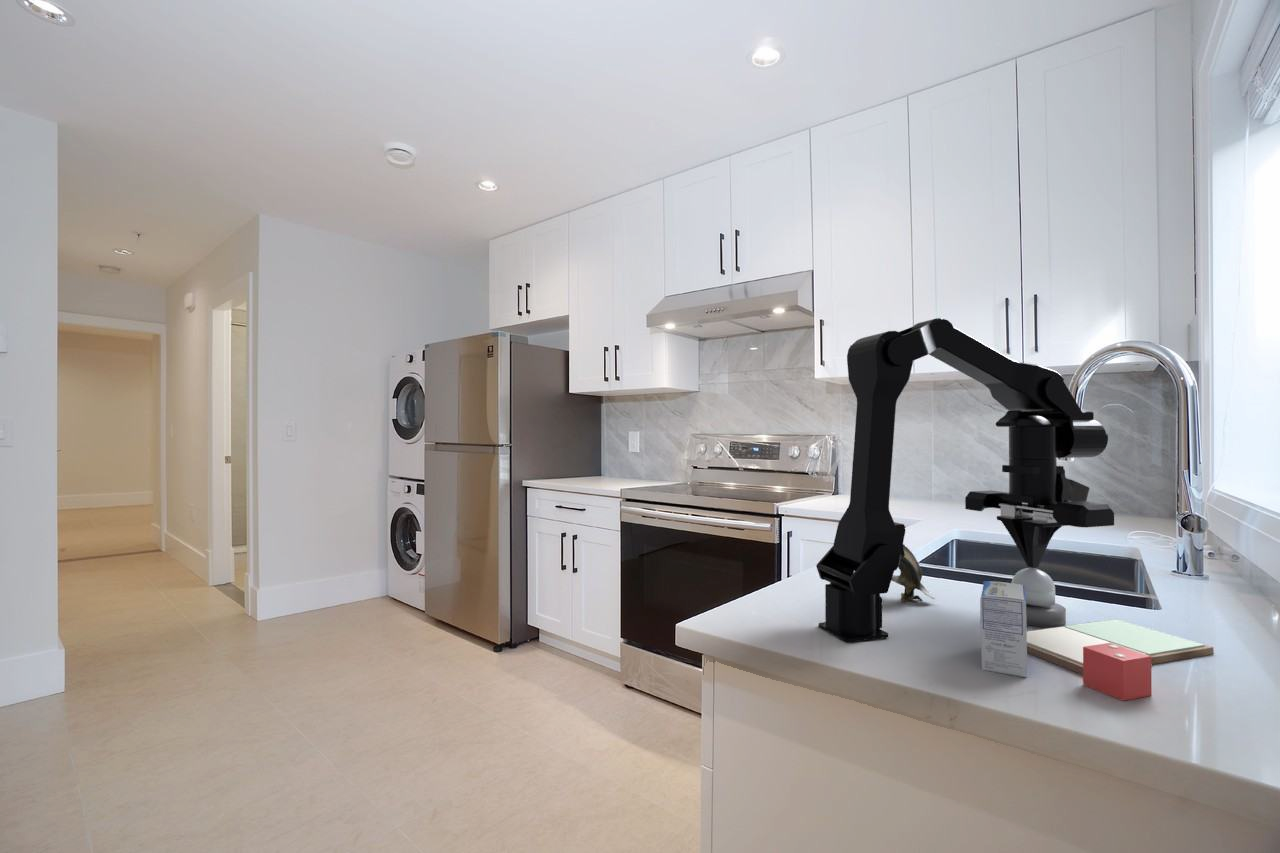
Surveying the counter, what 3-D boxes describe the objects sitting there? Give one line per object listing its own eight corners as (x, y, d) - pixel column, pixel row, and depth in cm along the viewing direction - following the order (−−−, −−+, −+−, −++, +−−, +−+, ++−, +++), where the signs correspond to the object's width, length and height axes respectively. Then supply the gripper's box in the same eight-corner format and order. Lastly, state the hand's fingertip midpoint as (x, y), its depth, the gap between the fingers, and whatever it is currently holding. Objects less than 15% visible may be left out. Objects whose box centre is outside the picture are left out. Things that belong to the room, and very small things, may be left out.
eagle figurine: (877, 594, 97) (877, 540, 97) (922, 595, 96) (922, 540, 96) (892, 608, 90) (892, 549, 90) (941, 610, 89) (941, 550, 89)
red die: (1123, 700, 59) (1123, 660, 59) (1083, 684, 63) (1083, 646, 63) (1151, 695, 60) (1151, 655, 60) (1110, 679, 64) (1110, 642, 64)
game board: (1086, 675, 65) (1086, 666, 65) (999, 641, 76) (999, 633, 76) (1213, 653, 71) (1213, 645, 71) (1116, 624, 82) (1116, 617, 82)
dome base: (1037, 630, 80) (1037, 615, 80) (989, 613, 87) (989, 599, 87) (1079, 624, 82) (1079, 610, 82) (1028, 608, 89) (1028, 595, 89)
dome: (1036, 611, 81) (1036, 574, 81) (1003, 601, 86) (1002, 565, 86) (1064, 608, 83) (1064, 571, 83) (1030, 598, 88) (1029, 563, 88)
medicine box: (1027, 680, 64) (1027, 600, 64) (980, 671, 67) (980, 594, 67) (1025, 656, 71) (1025, 584, 71) (983, 648, 73) (982, 579, 73)
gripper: (1144, 460, 78) (1144, 578, 78) (1016, 454, 96) (1017, 550, 96) (1082, 462, 75) (1082, 585, 75) (962, 456, 93) (962, 555, 93)
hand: (1032, 567), depth 85 cm, fingers closed
